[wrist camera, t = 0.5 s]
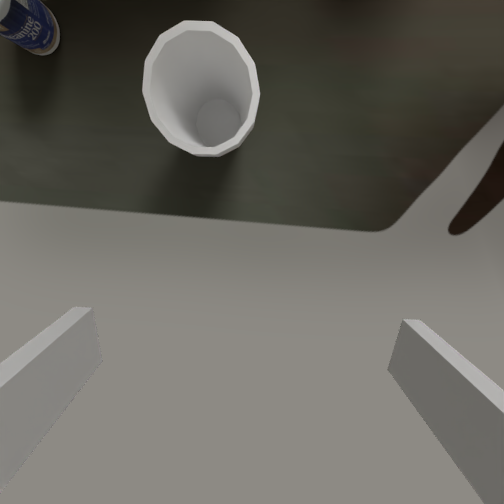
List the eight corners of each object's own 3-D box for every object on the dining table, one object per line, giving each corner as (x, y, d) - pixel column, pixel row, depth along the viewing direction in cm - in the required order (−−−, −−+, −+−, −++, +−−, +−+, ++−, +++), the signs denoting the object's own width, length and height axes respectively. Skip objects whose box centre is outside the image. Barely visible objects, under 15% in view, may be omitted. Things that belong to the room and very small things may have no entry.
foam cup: (186, 162, 33) (148, 153, 20) (180, 84, 30) (134, 18, 17) (254, 163, 33) (258, 155, 20) (255, 86, 30) (261, 22, 18)
